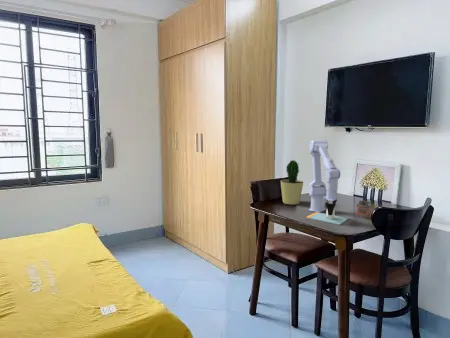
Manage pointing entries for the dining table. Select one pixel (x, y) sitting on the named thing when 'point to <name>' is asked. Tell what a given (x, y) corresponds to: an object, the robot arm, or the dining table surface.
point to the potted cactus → (292, 185)
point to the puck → (330, 215)
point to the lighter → (363, 209)
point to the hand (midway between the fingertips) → (330, 213)
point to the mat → (323, 218)
